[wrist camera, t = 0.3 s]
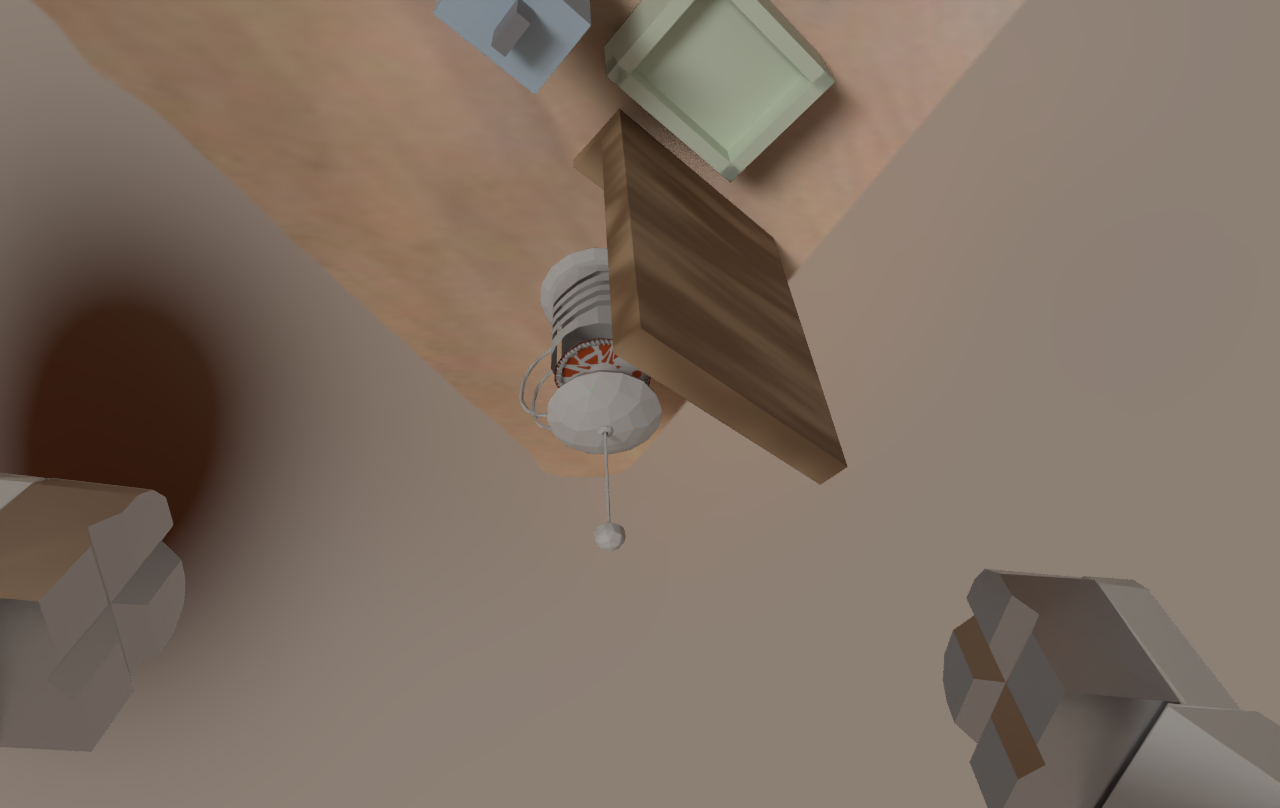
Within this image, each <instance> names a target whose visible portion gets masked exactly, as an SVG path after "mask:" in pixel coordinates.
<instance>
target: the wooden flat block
mask: <svg viewBox="0 0 1280 808" xmlns="http://www.w3.org/2000/svg"><path fill="white" fill-rule="evenodd" d="M574 168H575V169H577V170H578V171H579V172H581V173H582V174H583V175H585V176H586V177H587V178H589V179H590V180H591V181H592V182H594V183H595V184H596V185H598V186H599V187H600V188H602V189H603V190H604V198H605V216H606V233H607V251H608V268H609V286H610V303H611V321H612V338H613V353H614V354H615V355H617V356H619V357H620V358H622V359H623V360H625V361H626V362H628V363H630V364H631V365H633V366H634V367H636V368H637V369H639V370H641V371H642V372H644V373H645V374H647V375H648V376H650V377H652V378H653V379H655V380H656V381H658V382H659V383H661V384H663V385H664V386H666V387H667V388H669V389H671V390H672V391H674V392H675V393H677V394H678V395H680V396H682V397H683V398H685V399H686V400H688V401H689V402H691V403H693V404H694V405H696V406H697V407H699V408H700V409H702V410H704V411H705V412H707V413H708V414H710V415H711V416H713V417H715V418H716V419H718V420H719V421H721V422H722V423H724V424H726V425H727V426H729V427H730V428H732V429H733V430H735V431H737V432H738V433H740V434H742V435H743V436H745V437H746V438H748V439H749V440H751V441H753V442H754V443H756V444H757V445H759V446H760V447H762V448H763V449H765V450H767V451H768V452H770V453H771V454H773V455H775V456H776V457H778V458H779V459H781V460H782V461H784V462H786V463H787V464H789V465H790V466H792V467H793V468H795V469H796V470H798V471H800V472H801V473H803V474H805V475H806V476H807V477H809V478H811V479H812V480H814V481H815V482H817V483H818V484H820V485H821V484H822V483H824V482H825V481H826V480H828V479H830V478H831V477H833V476H834V475H836V474H837V473H839V472H840V471H842V470H843V469H845V468H846V467H847V464H846V461H845V458H844V455H843V452H842V449H841V445H840V442H839V440H838V436H837V433H836V430H835V427H834V424H833V421H832V418H831V415H830V412H829V409H828V406H827V402H826V400H825V396H824V393H823V390H822V388H821V384H820V381H819V378H818V375H817V372H816V369H815V366H814V363H813V360H812V356H811V354H810V350H809V347H808V344H807V341H806V338H805V335H804V332H803V329H802V326H801V323H800V320H799V317H798V313H797V310H796V307H795V304H794V301H793V298H792V295H791V292H790V289H789V286H788V283H787V280H786V277H785V274H784V270H783V267H782V264H781V261H780V258H779V255H778V252H777V249H776V246H775V243H774V240H773V237H772V236H770V235H769V234H768V233H767V232H766V231H764V230H763V229H762V228H761V227H760V226H758V225H757V224H756V223H755V222H754V221H752V220H751V219H750V218H749V217H748V216H746V215H745V214H744V213H743V212H742V211H741V210H739V209H738V208H737V207H736V206H735V205H733V204H732V203H731V202H730V201H729V200H727V199H726V198H725V197H724V196H723V195H721V194H720V193H719V192H718V191H717V190H715V189H714V188H713V187H712V186H711V185H710V184H708V183H707V182H706V181H705V180H704V179H702V178H701V177H700V176H699V175H698V174H696V173H695V172H694V171H693V170H692V169H690V168H689V167H688V166H687V165H686V164H684V163H683V162H682V161H681V160H680V159H679V158H677V157H676V156H675V155H674V154H673V153H671V152H670V151H669V150H668V149H667V148H665V147H664V146H663V145H662V144H661V143H659V142H658V141H657V140H656V139H655V138H653V137H652V136H651V135H650V134H649V133H648V132H646V131H645V130H644V129H643V128H642V127H640V126H639V125H638V124H637V123H636V122H634V121H633V120H632V119H631V118H630V117H628V116H627V115H626V114H625V113H624V112H622V111H621V110H620V109H619V110H618V111H617V112H616V113H615V114H614V116H613V117H612V118H611V119H610V120H609V121H608V122H607V123H606V125H605V126H604V127H603V128H602V129H601V130H600V131H599V132H598V134H597V135H596V136H595V137H594V138H593V139H592V140H591V141H590V143H589V144H588V145H587V146H586V147H585V148H584V149H583V150H582V152H581V153H580V154H579V155H578V156H577V157H576V158H575V159H574Z"/></svg>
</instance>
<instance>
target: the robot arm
mask: <svg viewBox="0 0 1280 808" xmlns="http://www.w3.org/2000/svg"><path fill="white" fill-rule="evenodd" d="M172 526H173V522H172V518H171V514H170V511H169V507H168V504H167V500H166V498H165V497H164V496H162V495H161V494H159V493H157V492H155V491H154V490H148V489H140V488H132V487H123V486H115V485H106V484H98V483H88V482H80V481H72V480H63V479H55V478H50V479H45V478H40V477H31V476H21V475H13V474H4V473H0V747H14V748H32V749H51V750H70V751H72V750H73V751H89V752H90V751H92V750H93V749H94V747H95V746H96V744H97V743H98V741H99V740H100V739H101V737H102V736H103V734H104V733H105V731H106V730H107V729H108V727H109V726H110V724H111V723H112V721H113V720H114V719H115V717H116V716H117V714H118V713H119V711H120V710H121V709H122V707H123V706H124V704H125V703H126V701H127V700H128V699H129V697H130V696H131V694H132V693H133V686H132V680H131V675H130V671H131V670H133V669H134V668H136V667H138V666H140V665H142V664H143V663H145V662H147V661H148V660H150V659H152V658H154V657H155V656H157V655H159V654H160V652H161V651H162V649H163V648H164V646H165V645H166V643H167V642H168V640H169V639H170V637H171V636H172V634H173V633H174V631H175V628H176V626H177V623H178V620H179V616H180V614H181V611H182V608H183V605H184V599H185V576H184V571H183V566H182V561H181V559H180V558H179V557H178V556H177V555H176V554H174V552H172V551H171V549H170V548H168V547H167V546H166V545H165V544H164V543H163V542H162V541H161V540H162V539H163V537H164V536H165V535H166V534H167V532H168V531H169V530H170V528H171V527H172ZM967 600H968V602H969V605H970V607H971V609H972V611H973V613H974V616H973V617H972V618H970V619H968V620H967V621H966V622H964V623H963V624H961V625H960V626H958V627H957V628H956V629H954V630H953V632H952V635H951V638H950V640H949V643H948V646H947V649H946V651H945V654H944V671H943V683H944V689H945V694H946V700H947V703H948V706H949V709H950V711H951V714H952V717H953V720H954V722H955V723H956V724H957V725H958V726H959V727H960V728H961V729H962V730H963V731H964V732H966V734H968V735H969V736H970V737H971V738H972V739H973V740H974V741H975V742H976V743H977V745H976V748H975V750H974V753H973V755H972V757H971V760H970V764H971V766H972V769H973V772H974V774H975V777H976V779H977V782H978V784H979V787H980V789H981V792H982V794H983V797H984V799H985V802H986V804H987V807H988V808H1280V726H1279V725H1277V724H1276V723H1274V722H1273V721H1271V720H1270V719H1268V718H1267V717H1265V716H1264V715H1262V714H1261V713H1259V712H1255V711H1245V710H1241V709H1240V707H1239V706H1238V705H1237V704H1236V702H1235V701H1234V700H1233V698H1232V697H1231V696H1230V695H1229V693H1228V692H1227V691H1226V689H1225V688H1224V687H1223V686H1222V684H1221V683H1220V682H1219V680H1218V679H1217V678H1216V676H1215V675H1214V674H1213V673H1212V671H1211V670H1210V669H1209V667H1208V666H1207V665H1206V664H1205V662H1204V661H1203V660H1202V658H1201V657H1200V656H1199V654H1198V653H1197V652H1196V651H1195V649H1194V648H1193V647H1192V645H1191V644H1190V643H1189V641H1188V640H1187V639H1186V638H1185V636H1184V635H1183V634H1182V633H1181V631H1180V630H1179V628H1178V627H1177V626H1176V625H1175V623H1174V622H1173V621H1172V620H1171V618H1170V617H1169V616H1168V614H1167V613H1166V612H1165V610H1164V609H1163V608H1162V606H1161V605H1160V604H1159V603H1158V601H1157V600H1156V599H1155V597H1154V596H1153V595H1152V594H1151V592H1150V591H1149V590H1148V589H1147V588H1145V587H1144V586H1142V585H1141V584H1139V583H1138V582H1136V581H1134V580H1128V579H1114V578H1099V577H1085V576H1084V577H1081V578H1079V577H1070V576H1059V575H1048V574H1036V573H1025V572H1014V571H1003V570H991V569H984V570H983V571H982V572H981V573H980V574H979V575H978V577H976V578H975V580H974V582H973V584H972V587H971V589H970V591H969V593H968V596H967Z"/></svg>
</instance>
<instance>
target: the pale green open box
mask: <svg viewBox="0 0 1280 808" xmlns="http://www.w3.org/2000/svg"><path fill="white" fill-rule="evenodd" d="M604 52H605V65H606V76H607V77H608V78H609V79H610V80H611V81H612V82H614V83H615V84H616V85H617V86H618V87H619V88H621V89H622V90H623V91H624V92H625V93H626V94H628V95H629V96H630V97H631V98H632V99H633V100H635V101H636V102H637V103H638V104H639V105H640V106H642V107H643V108H644V109H645V110H646V111H647V112H649V113H650V114H651V115H652V116H653V117H654V118H656V119H657V120H658V121H659V122H660V123H661V124H663V125H664V126H665V127H666V128H667V129H668V130H670V131H671V132H672V133H673V134H674V135H675V136H677V137H678V138H679V139H680V140H681V141H682V142H684V143H685V144H686V145H687V146H688V147H689V148H691V149H692V150H693V151H694V152H695V153H696V154H698V155H699V156H700V157H701V158H702V159H703V160H705V161H706V162H707V163H708V164H709V165H710V166H712V167H713V168H714V169H715V170H716V171H717V172H719V173H720V174H721V175H722V176H723V177H724V178H726V179H727V180H728V181H729V182H731V181H732V180H733V179H734V178H735V177H737V176H738V175H739V174H740V173H741V172H742V171H743V170H744V169H745V168H746V167H747V166H748V165H749V164H750V163H751V162H752V161H753V160H754V159H755V158H756V157H757V156H758V155H759V154H761V153H762V152H763V151H764V150H765V149H766V148H767V147H768V146H769V145H770V144H771V143H772V142H773V141H774V140H775V139H776V138H777V137H778V136H779V135H780V134H781V133H782V132H783V131H784V130H786V129H787V128H788V127H789V126H790V125H791V124H792V123H793V122H794V121H795V120H796V119H797V118H798V117H799V116H800V115H801V114H802V113H803V112H804V111H805V110H806V109H807V108H808V107H809V106H811V105H812V104H813V103H814V102H815V101H816V100H817V99H818V98H819V97H820V96H821V95H822V94H823V93H824V92H825V91H826V90H827V89H828V88H829V87H830V86H831V85H832V84H833V83H834V82H835V81H834V79H833V77H832V76H831V74H830V72H829V70H828V69H827V67H826V65H825V63H824V62H823V60H822V58H821V56H820V55H819V53H818V52H817V51H816V49H815V48H814V47H813V46H812V45H811V44H810V43H809V42H808V41H807V40H806V39H805V38H804V37H803V36H802V35H801V34H800V33H799V31H798V30H797V29H796V28H795V27H794V26H793V25H792V24H791V23H790V22H789V21H788V20H787V19H786V18H785V17H784V16H783V15H782V14H781V12H780V11H779V10H778V9H777V8H776V7H775V6H774V5H773V4H772V3H771V2H770V1H769V0H642V2H641V3H640V4H639V5H638V6H637V8H636V9H635V10H634V11H633V12H632V14H631V15H630V16H629V17H628V18H627V20H626V21H625V22H624V23H623V24H622V26H621V27H620V28H619V29H618V30H617V32H616V33H615V34H614V35H613V36H612V38H611V39H610V40H609V41H608V42H607V44H606V45H605V46H604Z"/></svg>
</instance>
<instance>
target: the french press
mask: <svg viewBox="0 0 1280 808" xmlns="http://www.w3.org/2000/svg"><path fill="white" fill-rule="evenodd" d="M540 304H541V306H542V308H543V311H544V313H545V315H546V317H547V320H548V321H549V322H550V323H551V324H552V346H551V347H550V348H549V349H548V350H547V351H546V352H545V353H544V354H542V355H541V356H540V357H539V358H537V359H536V360H535V361H534V363H533V364H532V365H531V366H530V367H529V368H528V370H527V372H526V374H525V376H524V378H523V381H522V384H521V388H520V402H521V405H522V407H523V408H524V410H525V411H526V412H527V413H530V414H532V415H533V418H534V420H535V421H536V423H537V424H538V426H539V427H542V428H544V429H547V430H552V431H553V433H554V435H555V436H556V437H557V438H558V439H559V440H561V441H562V442H563V443H565V444H566V445H567V446H568V447H570V448H573V449H576V450H579V451H583V452H586V453H591V454H604V455H605V479H606V504H607V523H606V524H602V525H600V526H598V527H597V529H595V534H594V538H595V540H596V542H597V544H598V546H599V548H601V549H605V550H609V551H614V550H616V549H618V548H619V547H620V546H621V545H622V544H623V543H624V541H625V531H624V528H623V527H621V526H620V525H618V524H614V523H610V503H609V482H608V458H607V454H614V453H618V452H622V451H627V450H631V449H633V448H634V447H636V446H638V445H640V444H641V443H643V442H645V441H647V440H648V439H649V438H650V437H651V435H652V434H653V433H654V432H655V431H656V429H657V428H658V427H659V423H660V418H661V414H662V409H661V406H660V403H659V400H658V397H657V394H656V393H655V392H654V391H653V390H652V389H651V388H650V387H649V384H650V378H651V377H650V376H648V375H647V374H645V373H644V372H642V371H641V370H639V369H637V368H636V367H634V366H633V365H631V364H630V363H628V362H626V361H625V360H623V359H622V358H620V357H619V356H617V355H615V354H614V353H613V338H612V321H611V303H610V286H609V268H608V251H607V249H604V248H590V249H587V250H583V251H579V252H575V253H572V254H569V255H568V256H566V257H565V258H564V259H562V260H561V261H559V262H558V263H557V264H555V265H554V266H552V267H551V269H550V271H549V273H548V274H547V276H546V278H545V279H544V281H543V283H542V285H541V301H540ZM557 329H558V330H559V331H560V332H559V333H558V334H557ZM561 340H562V357H561V359H560V360H559V362H558V364H557V344H558V343H559V342H560V341H561ZM551 351H552V354H551V370H550V371H549V372H548V373H547V374H546V375H545V376H544V377H543V379H542V380H541V381H540V383H539V384H538V386H537V388H536V390H535V392H534V395H533V398H532V411H530V410H529V409H528V407H527V406H526V405H525V402H524V399H523V394H524V387H525V382H526V380H527V378H528V376H529V374H530V372H531V370H532V369H533V368H534V367H535V365H536V364H537V363H538V362H539V361H540V360H541V359H542V358H544V357H545V356H546V355H547V354H548V353H550V352H551ZM552 372H553V373H554V375H555V383H556V385H557V387H558V390H557V391H556V393H555V394H554V396H553V397H552V399H551V400H550V401H549V403H548V413H535V400H536V397H537V394H538V391H539V389H540V387H541V384H542V383H543V382H544V380H545V379H546V378H547V377H548V376H549V375H550V374H551V373H552ZM536 416H538V417H547V416H548V417H547V421H548V423H549V425H550V427H548V426H546V425H543V424H541V423H540V422H539V420H538V419H537V417H536Z"/></svg>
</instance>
